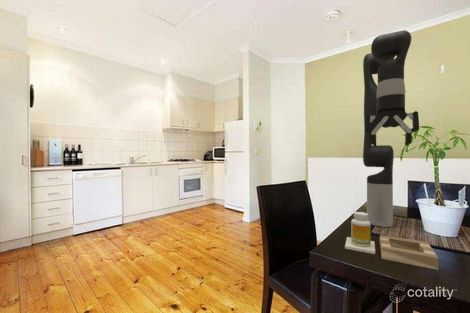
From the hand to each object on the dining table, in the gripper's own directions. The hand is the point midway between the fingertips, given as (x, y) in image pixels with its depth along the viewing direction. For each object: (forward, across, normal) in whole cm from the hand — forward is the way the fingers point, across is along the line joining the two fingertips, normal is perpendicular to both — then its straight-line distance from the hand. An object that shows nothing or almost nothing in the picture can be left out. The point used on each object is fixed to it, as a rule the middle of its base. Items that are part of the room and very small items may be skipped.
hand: (390, 146), depth 72 cm
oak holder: (+32, -3, +7) cm, 33 cm away
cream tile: (+32, +8, +6) cm, 34 cm away
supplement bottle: (+31, +8, +6) cm, 33 cm away
